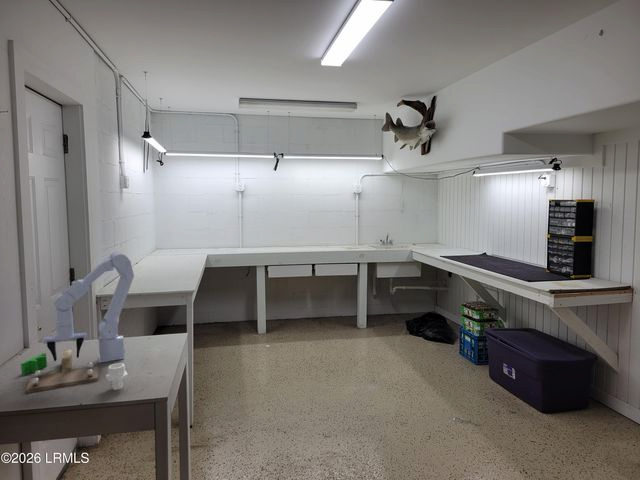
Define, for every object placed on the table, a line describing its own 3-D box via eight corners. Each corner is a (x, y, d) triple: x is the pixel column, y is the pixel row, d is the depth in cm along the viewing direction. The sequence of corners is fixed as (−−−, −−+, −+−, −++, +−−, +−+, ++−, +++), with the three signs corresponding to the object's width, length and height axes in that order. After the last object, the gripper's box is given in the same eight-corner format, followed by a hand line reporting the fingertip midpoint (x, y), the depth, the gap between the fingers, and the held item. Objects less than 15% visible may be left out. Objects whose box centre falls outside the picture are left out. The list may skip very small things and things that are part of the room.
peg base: (98, 369, 169) (98, 359, 169) (98, 380, 158) (97, 370, 158) (31, 380, 159) (30, 370, 159) (26, 392, 148) (25, 382, 148)
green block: (30, 375, 164) (29, 363, 163) (21, 375, 164) (20, 363, 164) (52, 364, 175) (51, 353, 174) (44, 363, 175) (43, 352, 175)
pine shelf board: (72, 361, 178) (71, 349, 178) (70, 371, 167) (69, 358, 167) (64, 362, 177) (63, 350, 176) (62, 372, 166) (61, 360, 166)
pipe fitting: (124, 391, 149) (123, 368, 148) (103, 392, 149) (101, 369, 148) (131, 383, 155) (130, 361, 155) (110, 384, 155) (109, 362, 154)
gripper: (86, 320, 177) (87, 352, 178) (44, 324, 171) (46, 358, 172) (85, 324, 171) (87, 358, 172) (42, 329, 164) (44, 364, 166)
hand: (66, 358), depth 172 cm, fingers open, 7 cm apart
